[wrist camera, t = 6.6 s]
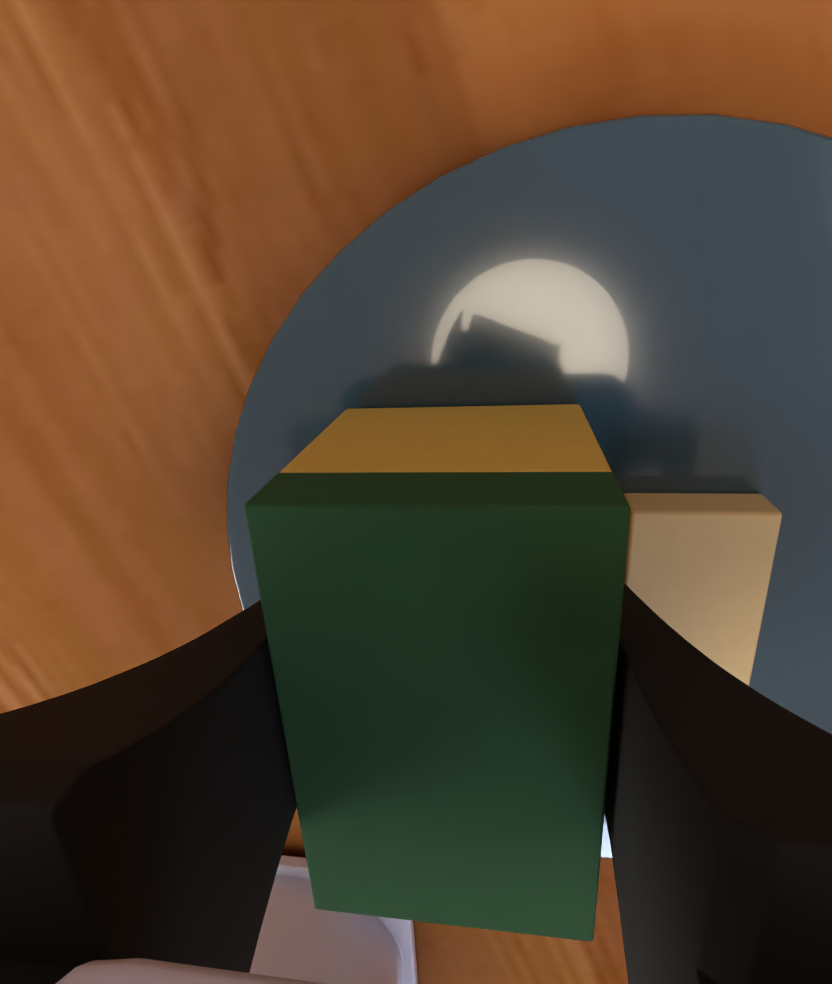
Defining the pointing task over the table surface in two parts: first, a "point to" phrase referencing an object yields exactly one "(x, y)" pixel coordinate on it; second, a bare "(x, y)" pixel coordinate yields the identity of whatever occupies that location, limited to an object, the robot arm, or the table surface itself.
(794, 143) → the plate
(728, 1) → the table surface
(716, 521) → the beige rectangular block
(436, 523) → the sponge
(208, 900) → the robot arm
